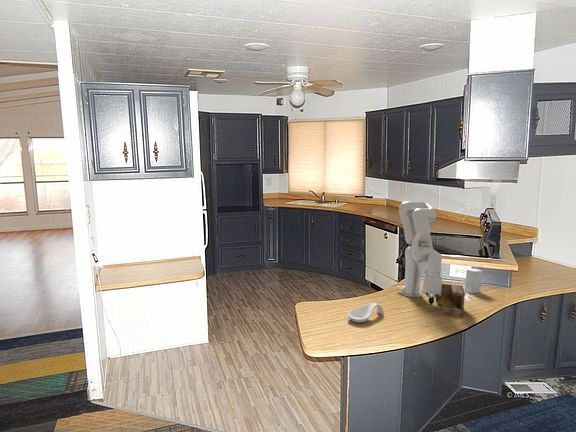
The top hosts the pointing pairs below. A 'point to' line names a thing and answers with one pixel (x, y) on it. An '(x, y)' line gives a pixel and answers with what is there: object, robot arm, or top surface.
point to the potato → (446, 302)
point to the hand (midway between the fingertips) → (430, 303)
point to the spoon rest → (364, 312)
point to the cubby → (453, 299)
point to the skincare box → (473, 281)
